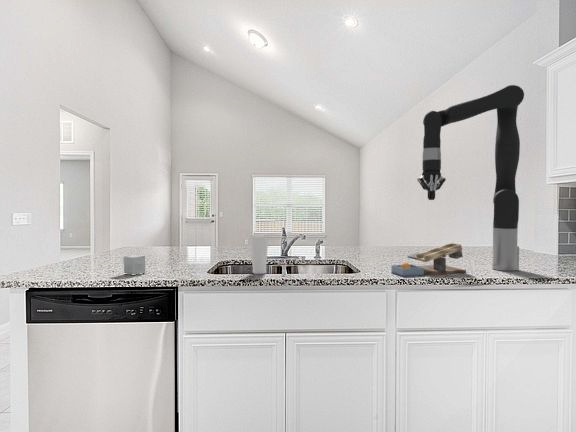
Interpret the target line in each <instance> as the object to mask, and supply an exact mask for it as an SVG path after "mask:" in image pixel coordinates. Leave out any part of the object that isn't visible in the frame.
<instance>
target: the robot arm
mask: <svg viewBox="0 0 576 432" xmlns="http://www.w3.org/2000/svg"><path fill="white" fill-rule="evenodd" d="M524 97H525V92H524V90H523V88H522V87H520V86H519V85H517V84H511V85H507V86H505V87H503V88H500V89H499V90H497V91H495V92H493V93H490V94H488V95H485V96H482V97H478V98H474V99H471V100H467V101H465V102H461V103H458V104H457V103H456V104H454V105H451V106H448V107H446V108H445V109H444V108H443V109H442V110H438V111H436V110H430V111H428V112H426V113H425V115H424V116H423V121H422V124H423V126H424V127H423V128H424V129H423V130H424V131H423V132H424V135H423V142H422V148H423V149H422V150H423V151H422V173H421V176H420V177H418V178H417V182H418V183H419V185H420V186H421V188H422V189H423V190H425V191H426V192H427V200H429V201H434V200H435V198H436V191H438V190H440V189H441V187H442V186H443V185H444V183H445V182H446V180H447V178H445V177H443V176H442V173H441V170H442V152H441V144H442V143H441V131H442V127H445V126H447V125H450V124H454V123H457V122H458V123H459V122H461V121H464V120H467V119H470V118H473V117H476V116H478V115H481V114H483V113H486V112H490V111H493V110H496V117H497V118H496V119H497V125H496V126H497V127H496V133H495V134H496V135H495V147H494V163H495V165H494V166H495V176H496V177H495V178H496V179H495V188H494V194H493V199H492V203H493V220H492V269H493V270H497V271H504V272H505V271H506V272H508V271H510V272H513V271H518V270H520V247H519V246H518V234H519V233H518V229H519V227H518V226H519V218H520V216H519V215H520V214H519V212H520V211H519V210H520V198H519V196H518V194H517V191H516V177H517V176H516V175H517V171H518V168H519V167H518V166H519V162H520V154H521V153H520V149H521V142H520V135H519V134H520V133H519V130H518V124H517V117H518V109H519V108H518V107H519V106H520V104H522V102H523V101H524Z"/></svg>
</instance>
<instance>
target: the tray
mask: <svg viewBox="0 0 576 432" xmlns="http://www.w3.org/2000/svg"><path fill="white" fill-rule="evenodd" d="M409 264H410V266H411V268H401V265H402V264H391V273H392V274H394V275H397V276H400V277H416V276H417V277H419V276H418V275H421V276H425V275H424V268H423V267H420V266H421V265H415V264H411V263H409Z"/></svg>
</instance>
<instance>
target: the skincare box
mask: <svg viewBox="0 0 576 432" xmlns="http://www.w3.org/2000/svg"><path fill="white" fill-rule="evenodd" d="M146 272H147V271H146V256H145V255H140V254H139V255H138V254H132V255H125V256H123V274H124V273H127V274H140V273H145V274H146Z"/></svg>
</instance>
